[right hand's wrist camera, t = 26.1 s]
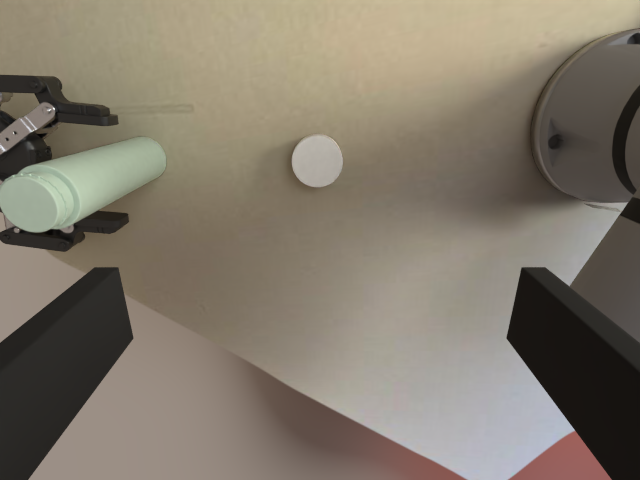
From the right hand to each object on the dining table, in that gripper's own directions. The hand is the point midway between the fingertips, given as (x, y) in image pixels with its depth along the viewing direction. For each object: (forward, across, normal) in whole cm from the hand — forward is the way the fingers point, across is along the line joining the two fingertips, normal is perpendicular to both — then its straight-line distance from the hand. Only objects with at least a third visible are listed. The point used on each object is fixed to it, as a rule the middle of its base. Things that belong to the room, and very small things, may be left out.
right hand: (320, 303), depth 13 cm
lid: (+26, 0, 0) cm, 26 cm away
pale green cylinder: (+27, +17, 0) cm, 32 cm away
